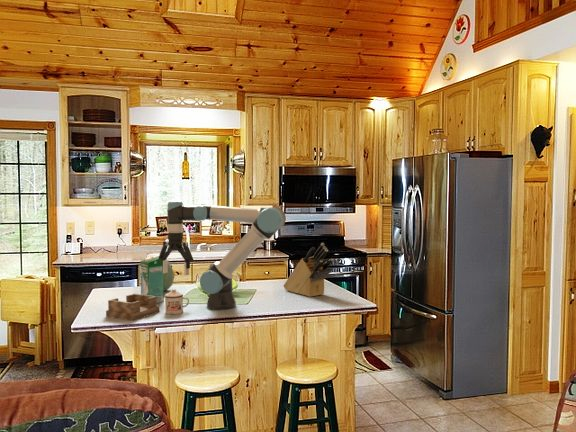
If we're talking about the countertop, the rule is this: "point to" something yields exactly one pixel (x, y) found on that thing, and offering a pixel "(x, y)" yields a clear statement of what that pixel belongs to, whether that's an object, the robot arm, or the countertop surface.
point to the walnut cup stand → (132, 307)
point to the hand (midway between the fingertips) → (175, 274)
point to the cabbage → (168, 278)
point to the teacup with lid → (174, 302)
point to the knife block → (310, 273)
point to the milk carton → (152, 277)
